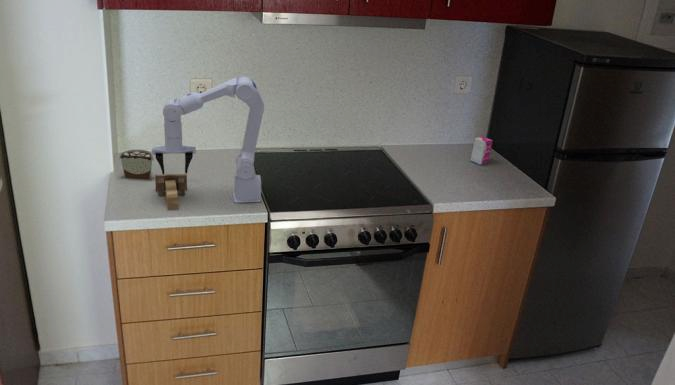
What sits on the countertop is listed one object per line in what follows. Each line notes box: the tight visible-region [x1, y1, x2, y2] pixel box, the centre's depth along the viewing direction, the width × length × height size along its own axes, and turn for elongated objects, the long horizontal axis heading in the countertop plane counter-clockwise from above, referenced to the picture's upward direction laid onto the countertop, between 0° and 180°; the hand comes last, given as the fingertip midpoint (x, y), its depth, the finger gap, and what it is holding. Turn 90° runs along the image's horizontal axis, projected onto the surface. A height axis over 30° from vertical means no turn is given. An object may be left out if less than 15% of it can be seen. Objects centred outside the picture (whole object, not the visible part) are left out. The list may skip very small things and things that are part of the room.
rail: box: [164, 180, 179, 211], centre depth 210 cm, size 14×4×5 cm, turn 18°
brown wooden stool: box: [154, 173, 188, 197], centre depth 216 cm, size 11×5×6 cm, turn 105°
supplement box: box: [469, 136, 494, 166], centre depth 268 cm, size 6×6×12 cm
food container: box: [118, 149, 155, 182], centre depth 225 cm, size 12×6×10 cm, turn 92°
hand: (174, 172), depth 209 cm, fingers open, 7 cm apart
